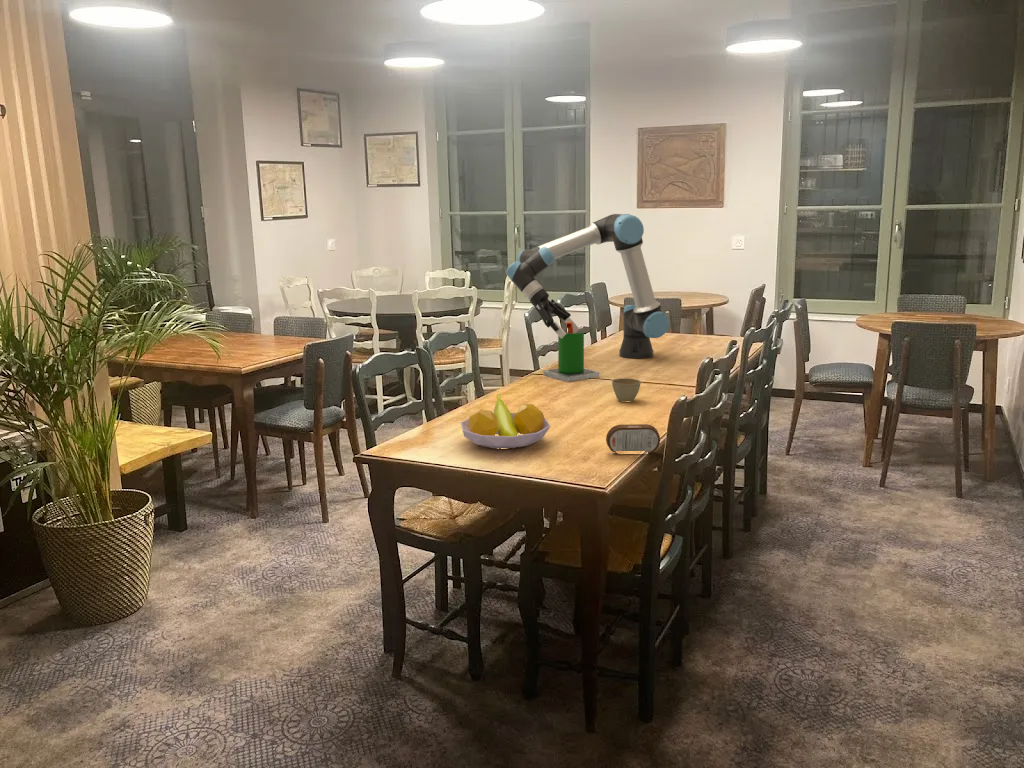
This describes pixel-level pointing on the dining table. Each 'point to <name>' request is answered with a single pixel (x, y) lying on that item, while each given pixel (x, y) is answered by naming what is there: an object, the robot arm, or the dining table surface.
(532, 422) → the fruit bowl
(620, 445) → the tin
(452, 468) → the dining table surface
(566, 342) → the green cylindrical container
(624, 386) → the flower pot
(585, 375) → the grey flat square slab
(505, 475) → the dining table surface
